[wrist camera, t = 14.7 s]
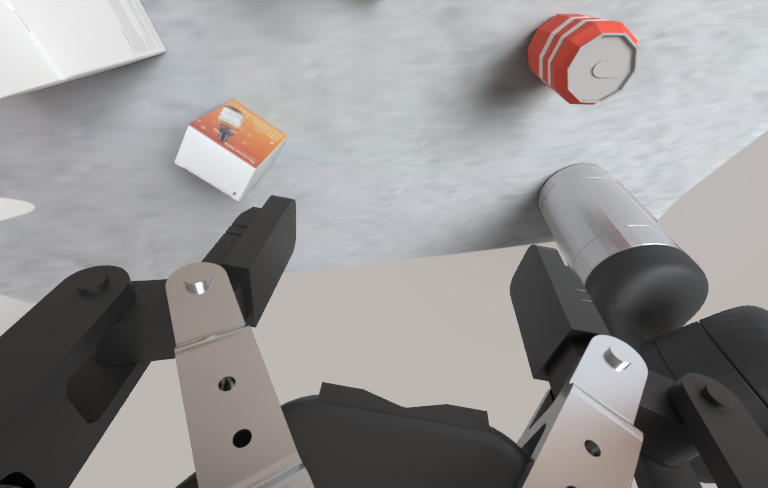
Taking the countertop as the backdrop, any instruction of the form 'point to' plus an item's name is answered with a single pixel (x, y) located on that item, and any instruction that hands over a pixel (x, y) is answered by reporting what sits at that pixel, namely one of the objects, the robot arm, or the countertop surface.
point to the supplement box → (70, 40)
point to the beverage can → (583, 57)
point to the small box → (230, 148)
